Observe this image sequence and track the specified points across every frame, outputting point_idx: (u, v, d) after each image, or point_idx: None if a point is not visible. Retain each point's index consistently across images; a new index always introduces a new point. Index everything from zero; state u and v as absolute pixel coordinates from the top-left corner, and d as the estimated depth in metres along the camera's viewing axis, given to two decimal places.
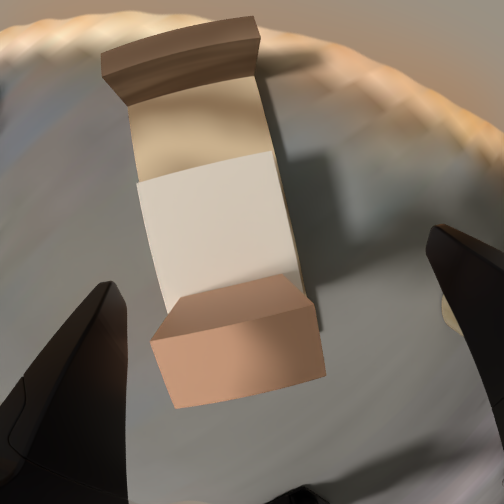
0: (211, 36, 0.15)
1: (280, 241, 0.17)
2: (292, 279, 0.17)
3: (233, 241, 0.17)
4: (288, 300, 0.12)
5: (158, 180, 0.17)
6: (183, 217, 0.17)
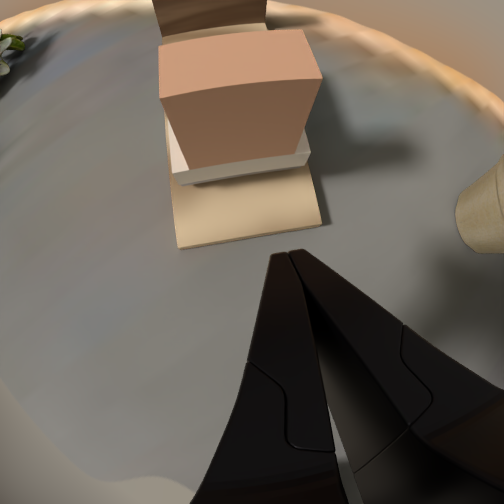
0: None
1: None
2: None
3: None
4: None
5: None
6: None
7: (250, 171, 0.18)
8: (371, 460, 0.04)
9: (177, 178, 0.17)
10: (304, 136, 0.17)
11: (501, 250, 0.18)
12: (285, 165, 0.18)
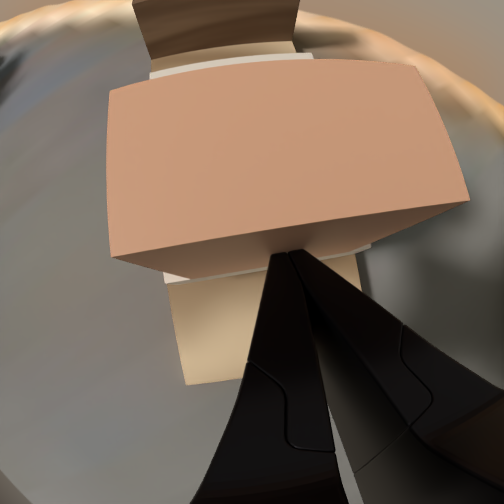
0: None
1: None
2: None
3: None
4: None
5: (176, 69, 0.12)
6: None
7: None
8: (371, 460, 0.04)
9: (172, 283, 0.12)
10: None
11: None
12: (329, 258, 0.13)
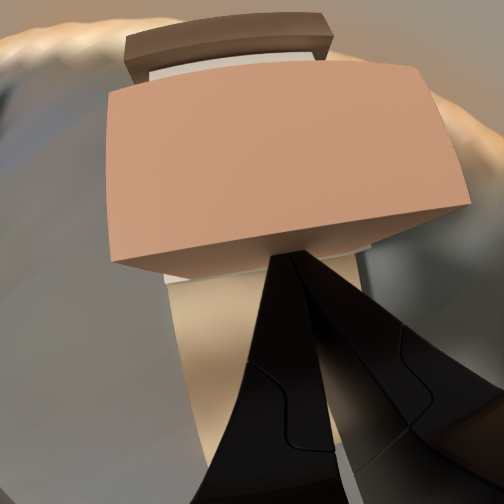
0: (272, 26, 0.11)
1: None
2: None
3: None
4: None
5: (176, 69, 0.12)
6: None
7: None
8: (371, 460, 0.04)
9: (173, 284, 0.12)
10: None
11: None
12: (329, 258, 0.13)
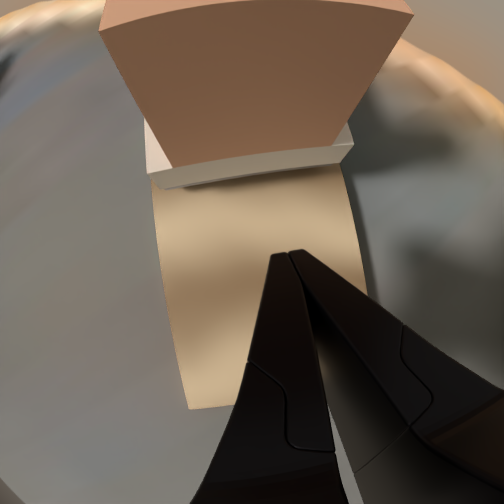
0: None
1: None
2: None
3: None
4: None
5: None
6: None
7: (264, 169, 0.13)
8: (371, 460, 0.04)
9: (156, 180, 0.11)
10: None
11: None
12: (314, 161, 0.12)
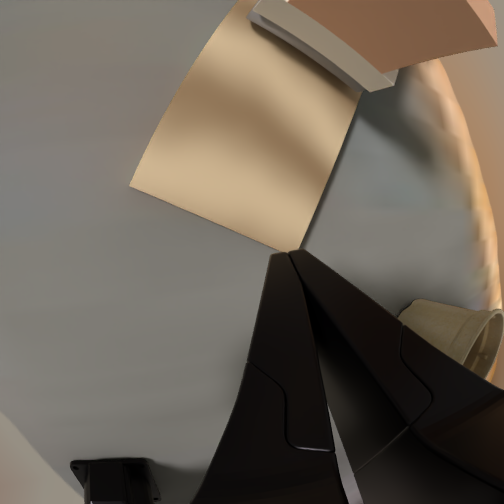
0: None
1: None
2: None
3: None
4: None
5: None
6: None
7: (326, 54, 0.13)
8: (371, 460, 0.04)
9: (263, 1, 0.10)
10: (396, 70, 0.13)
11: None
12: (358, 76, 0.14)
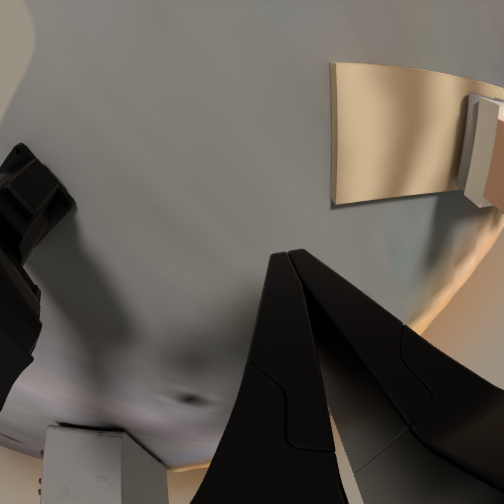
0: None
1: None
2: None
3: None
4: None
5: None
6: None
7: (474, 155, 0.17)
8: (371, 460, 0.04)
9: (490, 103, 0.13)
10: (487, 205, 0.18)
11: None
12: (470, 182, 0.18)
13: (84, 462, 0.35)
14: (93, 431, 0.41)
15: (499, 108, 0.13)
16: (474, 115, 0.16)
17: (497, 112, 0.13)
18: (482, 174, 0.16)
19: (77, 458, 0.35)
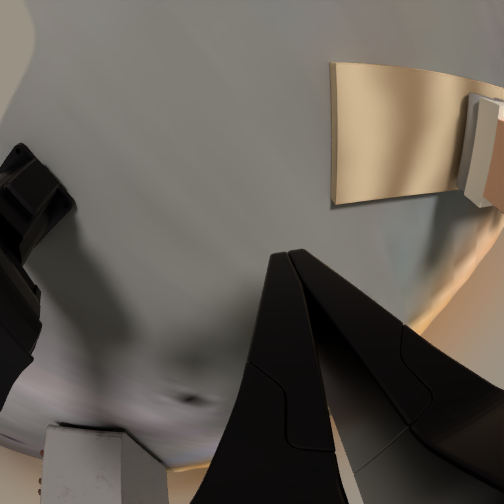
0: None
1: None
2: None
3: None
4: None
5: None
6: None
7: (474, 155, 0.17)
8: (371, 460, 0.04)
9: (490, 103, 0.13)
10: (487, 205, 0.18)
11: None
12: (470, 182, 0.18)
13: (84, 462, 0.35)
14: (93, 431, 0.41)
15: (499, 108, 0.13)
16: (474, 115, 0.16)
17: (497, 112, 0.13)
18: (482, 174, 0.16)
19: (77, 458, 0.35)
